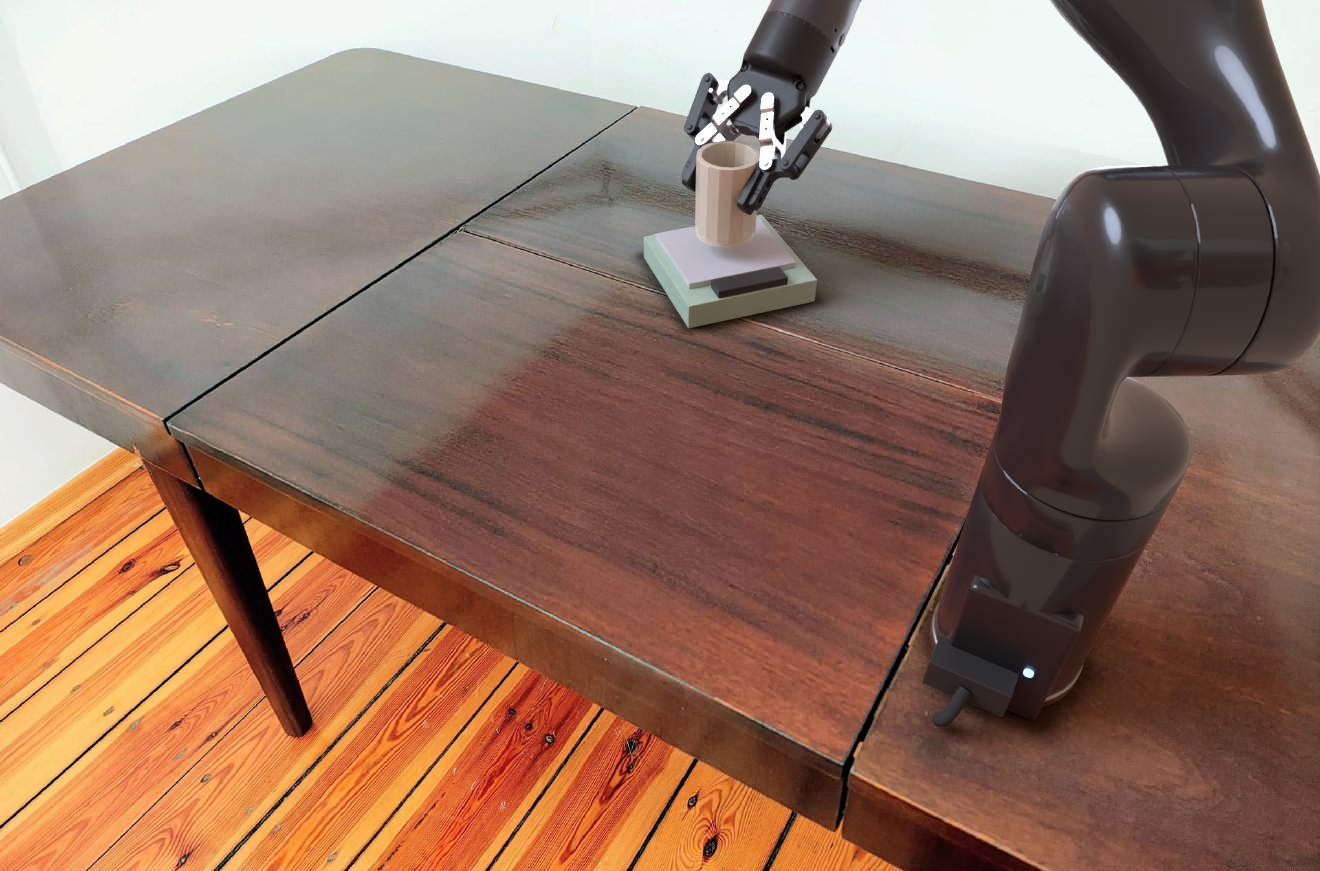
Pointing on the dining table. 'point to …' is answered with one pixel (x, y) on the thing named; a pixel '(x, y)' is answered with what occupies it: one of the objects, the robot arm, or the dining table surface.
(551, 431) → the dining table surface
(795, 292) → the scale
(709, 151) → the cup
